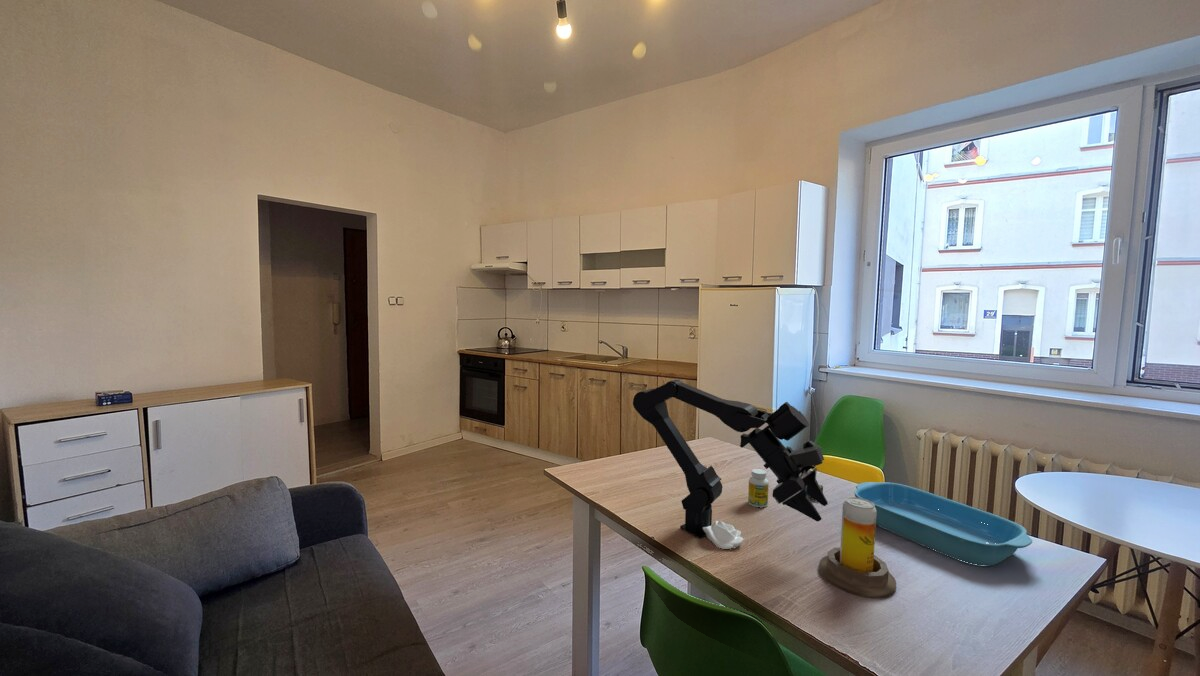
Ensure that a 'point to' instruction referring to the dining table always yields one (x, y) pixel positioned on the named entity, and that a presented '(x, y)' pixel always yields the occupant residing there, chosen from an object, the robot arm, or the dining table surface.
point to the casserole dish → (944, 523)
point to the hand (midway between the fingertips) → (823, 512)
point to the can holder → (858, 577)
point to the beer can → (858, 534)
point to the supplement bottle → (758, 489)
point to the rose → (723, 535)
